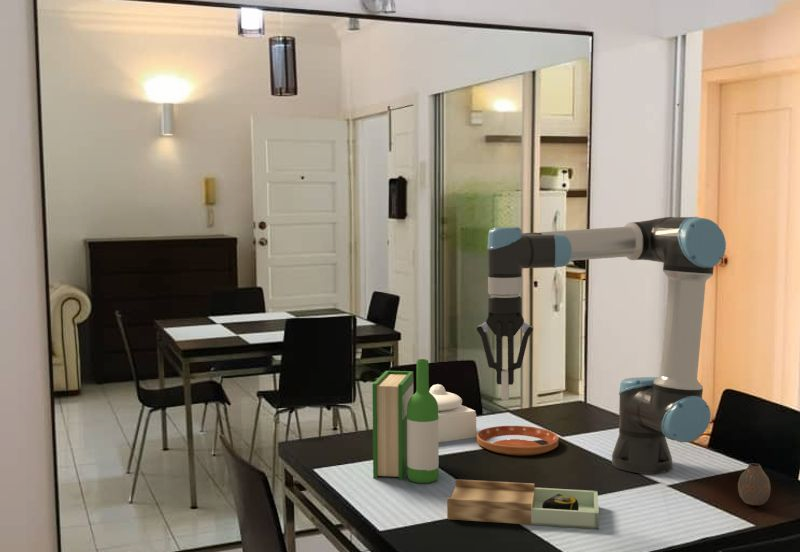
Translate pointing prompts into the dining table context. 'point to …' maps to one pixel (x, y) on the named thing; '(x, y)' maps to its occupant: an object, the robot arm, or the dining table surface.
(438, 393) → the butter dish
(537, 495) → the tray
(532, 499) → the wooden tray
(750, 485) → the vase
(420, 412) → the wine bottle
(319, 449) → the dining table surface
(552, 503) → the tape measure
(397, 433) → the hardback book
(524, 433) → the saucer
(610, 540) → the dining table surface
